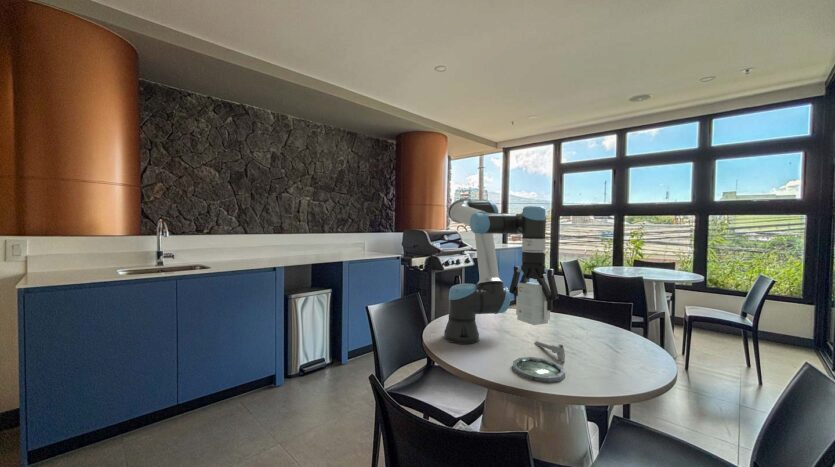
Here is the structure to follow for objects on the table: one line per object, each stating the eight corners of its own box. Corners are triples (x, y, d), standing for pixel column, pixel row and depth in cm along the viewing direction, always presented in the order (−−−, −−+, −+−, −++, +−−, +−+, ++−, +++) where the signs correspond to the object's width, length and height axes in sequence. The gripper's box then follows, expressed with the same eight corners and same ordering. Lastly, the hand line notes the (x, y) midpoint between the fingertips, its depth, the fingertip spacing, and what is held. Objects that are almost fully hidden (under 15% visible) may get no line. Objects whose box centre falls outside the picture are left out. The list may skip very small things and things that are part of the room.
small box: (548, 323, 111) (548, 284, 111) (533, 325, 109) (534, 285, 109) (530, 318, 119) (531, 281, 119) (516, 319, 116) (517, 282, 116)
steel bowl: (504, 370, 114) (504, 366, 114) (526, 357, 125) (527, 353, 125) (551, 387, 102) (552, 382, 102) (572, 371, 114) (572, 367, 114)
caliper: (564, 363, 122) (565, 346, 122) (561, 363, 122) (562, 346, 121) (536, 343, 142) (536, 328, 142) (533, 343, 142) (534, 328, 142)
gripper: (499, 250, 119) (498, 312, 119) (561, 253, 103) (560, 325, 103) (510, 249, 125) (509, 309, 125) (571, 252, 108) (570, 321, 108)
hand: (532, 317), depth 114 cm, fingers closed on small box, 9 cm apart
